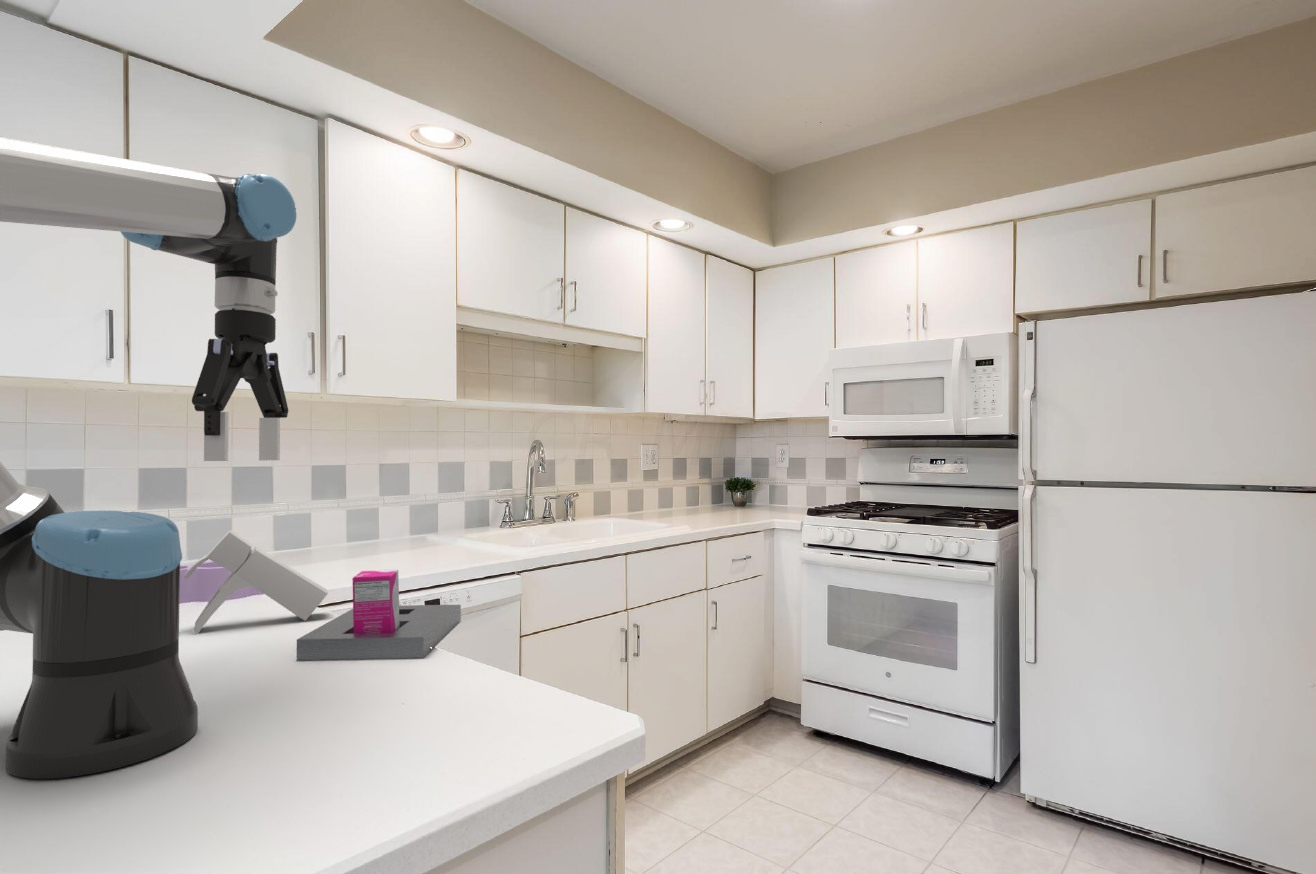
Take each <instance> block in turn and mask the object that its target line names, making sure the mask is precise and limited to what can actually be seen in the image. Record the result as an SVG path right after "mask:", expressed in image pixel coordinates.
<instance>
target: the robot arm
mask: <svg viewBox="0 0 1316 874" xmlns="http://www.w3.org/2000/svg"><path fill="white" fill-rule="evenodd" d="M296 220H297V208H296V202H295V200H294V197H293V196H292V193H291V192H290V191H289V189H288V188H287V186H286V185H284V183H282V182H281V181H280V180H278V179H277V178H276V177H274V176H271V175H269V174H264V173H257V174H250V173H248V174H244V175H241V176H239V177H233V176H232V177H231V176H225V175H220V174H214V173H206V172H200V171H197V170H196V171H195V170H189V169H184V168H177V167H172V166H166V165H162V164H157V163H156V164H155V163H149V162H145V161H139V160H134V159H128V158H123V157H117V156H111V155H106V154H102V153H101V154H99V153H95V152H90V151H89V152H88V151H83V150H78V149H73V148H67V147H61V146H55V145H50V144H45V143H40V142H39V143H38V142H35V141H27V140H22V139H17V138H11V137H6V136H5V137H4V136H0V222H2V223H13V224H14V223H15V224H26V225H37V226H50V227H62V228H72V229H74V228H75V229H85V230H86V229H87V230H96V231H97V230H99V231H110V232H120V233H121V235H122V236H123V238H125V239H126V240H127V241H129V242H131V243H134V244H137V245H139V246H143V247H146V248H149V249H151V250H153V251H159V252H164V253H168V254H171V255H175V256H176V255H177V256H180V257H184V258H188V259H193V260H196V261H200V262H204V263H208V264H211V265H214V280H215V282H214V308H216V309H217V311H216V312H215V313H214V336H215V337H216V338H209V339H208V340H207V341H208V342H207V352H206V357H205V359H204V362H203V366H202V368H201V371H200V374H199V377H198V379H197V383H196V386H195V388H194V392H193V393H192V397H191V403H192V405H193V406H194V410H195V411H196V412H203V413H204V414H203V434H204V435H203V462H228V461H229V411H228V412H227V411H224V410H225V408H226V406H227V405H228V402H229V401H230V399H231V397H232V395H233V394H234V392H235V390H236V387H237V386H238V384H239V382H240V381H241V379H244V381H245V382H246V383H247V384H249V385H250V388H251V390H252V393H253V395H254V398H255V400H256V402H257V405H258V407H259V409H260V412H261V414H262V416H263V417H259V420H258V421H259V423H258V424H259V425H258V427H259V428H258V430H259V431H258V461H280V460H281V458H280V457H281V456H280V455H281V450H280V448H281V447H280V446H281V444H280V443H281V418H282V419H284V418H288V416H289V415H288V414H289V407H288V403H287V398H286V394H285V389H284V386H283V385H284V384H283V381H282V376H281V373H280V369H279V367H280V366H279V354H278V353H277V352H267V350H266V345H267V344H270V343H273V342H275V340H276V329H277V327H276V324H277V323H276V321H277V320H276V318H275V317H274V316H273V314H275V312H276V297H277V296H278V291H277V290H276V281H277V280H276V279H277V278H276V277H277V276H276V275H277V247H278V246H277V243H278V238H281V237H282V238H283V237H285V236H286V235H288V234H290V232H291V231H292V230H293V228H294V227H295V224H296V222H297V221H296ZM179 532H180V531H179V529H178V526H177V525H176V524H175V522H174V521H172V520H171V519H169V518H167V517H166V516H165V517H164V516H162V515H159V514H155V513H148V512H147V513H146V512H139V511H121V510H80V511H78V510H77V511H70V512H65V511H64V509H63V508H62V506H60V504H58V503H57V500H55V498H54V497H53V496H52V495H51V493H49V491H48V490H47V489H46V488H43V487H36V486H31V485H30V486H29V485H23V484H20V483H19V482H18V481H17V480H16V479H15V478H14V476H13V475H12V473H10V471H9V470H8V469H7V468H6V467H5V465H4V464H3V463H2V462H1V461H0V631H1V632H2V631H9V632H17V633H25V634H31V635H32V673H31V674H32V675H31V677H32V678H31V683H30V686H29V688H28V691H27V693H26V696H25V699H24V701H23V703H22V705H21V707H20V710H19V713H18V716H17V718H16V719H15V722H14V726H13V729H12V732H11V734H10V735H9V737H8V739H7V742H6V746H5V770H6V772H7V773H8V774H10V775H12V776H15V777H18V778H22V779H23V778H24V779H32V780H33V779H34V780H37V779H39V780H40V779H41V780H45V779H60V778H61V779H62V778H70V777H77V776H84V775H90V774H96V773H102V772H105V771H109V770H114V769H118V768H123V767H126V766H129V765H133V764H136V763H140V762H143V761H146V760H149V759H151V758H154V757H157V756H159V755H161V754H164V753H166V752H170V751H171V750H173V749H175V748H177V747H179V746H180V745H182V744H184V743H186V742H187V741H188V740H189V739H192V737H193V736H195V734H196V733H197V730H198V725H199V724H198V722H199V718H198V717H199V716H198V714H199V711H198V709H199V708H198V705H197V703H196V700H195V698H194V696H193V693H192V690H191V687H190V685H189V682H188V679H187V677H186V674H185V671H184V668H183V666H182V664H181V662H180V656H179V654H180V653H179V652H180V651H179V649H180V648H179V647H180V645H179V644H180V643H179V642H180V641H179V640H180V639H179V637H180V604H179V596H180V565H181V562H182V559H183V552H182V549H181V541H180V539H181V538H180V533H179Z"/></svg>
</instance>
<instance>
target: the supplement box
mask: <svg viewBox="0 0 1316 874" xmlns="http://www.w3.org/2000/svg"><path fill="white" fill-rule="evenodd" d="M399 578H400V577H399V568H395V569H393V568H391V569H378V570H376V569H375V570H374V569H373V570H362V571H360V572H359V573H357V574H356V575H355V576H353V577H352V580H351V581H352V609H353V629H354V634H365V633H394V632H395V631H397V630H398V629H399V628H400V625H399V606H400V591H399V590H400V588H399V585H400V584H399Z"/></svg>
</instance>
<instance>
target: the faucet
mask: <svg viewBox="0 0 1316 874" xmlns="http://www.w3.org/2000/svg"><path fill="white" fill-rule="evenodd" d="M252 547H253V544H252V543H251V542H249V541H248V540H246V539H245V538H243V537H242V536H241V535H239V534H238V533H236V532H235V531H233V530H232V529H229V530H228V531H227V532H225V534H224V535H223V536H222V537H221V538H220V540H219V541H218V542H216V544H215V545H214V546H213V547H212V548H211V549H210V550H209V552H208V553H207V554H206V555H204V556H202V557H200V558H199V559H198V560H196V561H195V562H194V563H192V564H193V565H192V566H191V567H190V569H189V570H188V571H187V573H186V574H185V577H184V578H185V579H188V578H189V577H190V575H191V574H192V573H193V571H194V570H195V569H196V568H197V567H198V566H199V565H201V564H202V563H203V562H208V561H209V560H210V562H211V561H213V562H215V563H217V564H218V565H220V566H222V567H224V568H225V569H227V570H229V571H231V572H232V574H231V575H230V576H229V577H228V578H227V580H226V581H225V582H224V583H223V584H222V586H221V587H220V588H219V589H218V591H217V592H216V593H215V595H214V596H213V597H212V599H211V600H210V601H209V602H207V604H206V605H205V607H204V609H203V610H202V612H201V613H200V614H199V615H198V617H197V619H196V620H195V623H194V626H193V632H194V634H195V635H198V634H199V633H200V631H201V630H202V628H203V627H204V626H205V625H206V623H207V622H208V621H209V620H210V619H211V617H212V616H213V614H215V612H216V611H217V610H218V609H219V608H220V607H221V606H222V605H223V604H224V603H225V601H228V600H227V599H228V598H229V597H230V596H231V595H232V594H233V593H234V592H235V591H236V590H238V589H240V588H243V587H254V588H256V589H258V590H259V591H261V592H262V593H264V594H263V595H266V596H267V597H268V598H270V599H271V600H273V601H274V602H276V603H277V604H278V605H280V606H282V607H284V608H285V609H286V610H287V611H289V612H291V613H292V614H293V615H295V616H297V617H298V618H300V619H301V620H303V621H304V622H306V621H307V620H308V619H309V617H310V616H311V615H312V614H313V612H315V610H316V609H317V608H319V605H320V604H322V602H323V600H324V599H326V596H327V595H328V594H329V591H328V589H327V588H325V587H324V586H322V585H320V584H319V583H317V582H315V581H313V580H312V579H310V578H309V577H307V576H306V575H304V574H301V572H299V571H297V570H295V569H293V568H291V567H290V566H289V565H286V564H285V563H283V562H282V561H280V560H278V559H277V558H275V557H274V556H272V555H270V554H268V553H266V551H263V550H261V549H260V548H258V547H256V546H254V547H253V548H252Z"/></svg>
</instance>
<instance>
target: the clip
mask: <svg viewBox="0 0 1316 874" xmlns="http://www.w3.org/2000/svg"><path fill="white" fill-rule="evenodd" d="M193 564H194V563H192V564H191V563H190V564H180V596H179V605H180V604H185V603H186V604H187V603H199V602H200V603H201V602H202V603H209V601H210V600H211V599H212V597H213V596H214V595H215V593H216V592H217V591H218V589H219V588H220V587H221V586H222V584H223V583H224V582H225V581H226V580H227V578H228V577H229V576H230V575H231V574H232V572H231V571H229V570H227V569H225V568H224V567H222V566H220V565H218V564H217V563H215V562H213V561H211V560H210V561H205V562H203V563H202V564H201V565H199V566H198V567H197V568H196V569H195V570H194V571H193V573H192V574H191V575H190V577H189V578H188V579H185V578H184V577H185V574H186V573H187V571H188V570H189V569H190V567H191V566H192V565H193ZM262 595H265V594H264V593H262V592H261V591H259V590H258V589H256V588H254V587H243V588H240V589H238V590H236V591H235V592H234V593H233V594H232V595H231V596H230V597H229V598H228V599H227V600H226V601H232V600H239V599H244V598H248V597H252V596H262Z"/></svg>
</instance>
